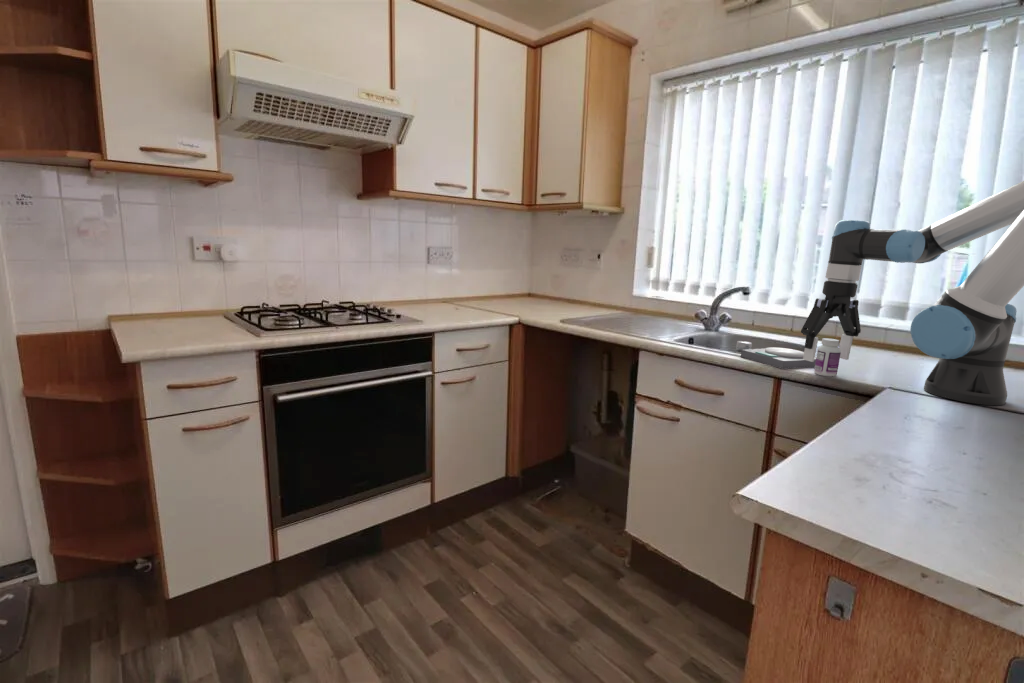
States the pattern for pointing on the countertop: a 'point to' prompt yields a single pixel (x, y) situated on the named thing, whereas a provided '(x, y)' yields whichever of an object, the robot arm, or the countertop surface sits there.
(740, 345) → the spacer
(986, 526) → the countertop surface
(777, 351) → the scale
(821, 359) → the pill bottle
